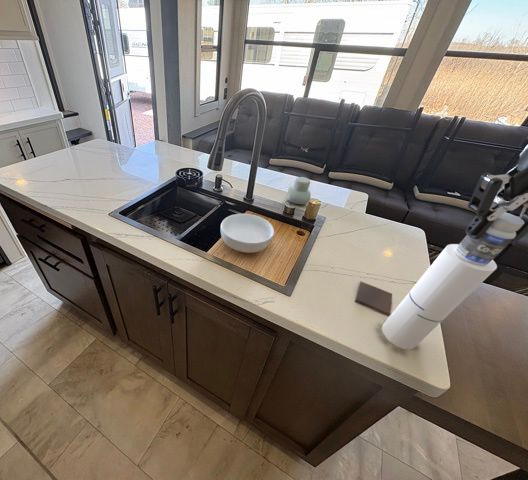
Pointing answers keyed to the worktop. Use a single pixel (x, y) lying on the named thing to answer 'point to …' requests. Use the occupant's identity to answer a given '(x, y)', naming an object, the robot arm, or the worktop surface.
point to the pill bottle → (490, 240)
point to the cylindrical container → (434, 297)
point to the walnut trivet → (374, 298)
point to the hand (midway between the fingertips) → (488, 237)
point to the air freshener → (299, 191)
